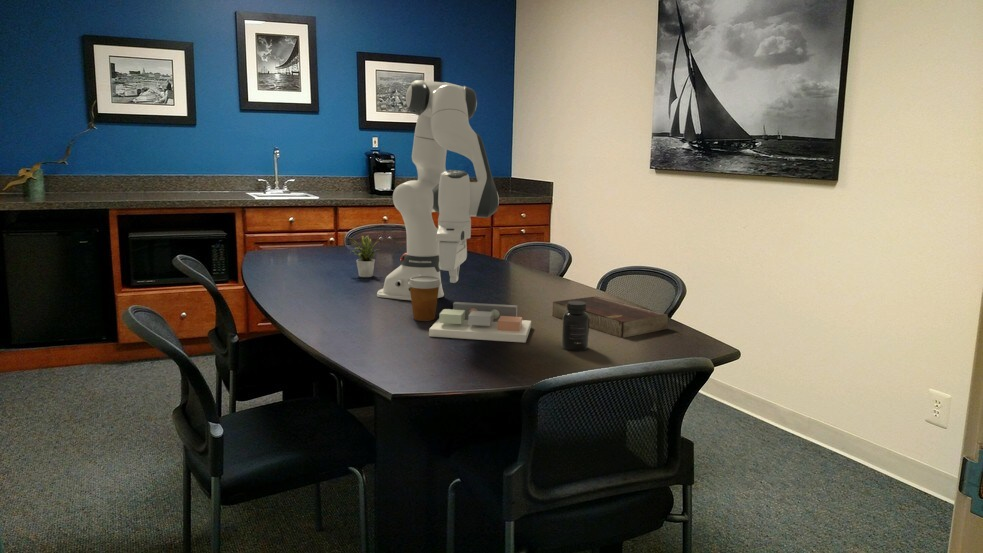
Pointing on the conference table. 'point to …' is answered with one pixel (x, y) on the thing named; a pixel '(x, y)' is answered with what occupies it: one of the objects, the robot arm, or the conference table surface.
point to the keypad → (480, 330)
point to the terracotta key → (509, 323)
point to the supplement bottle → (575, 327)
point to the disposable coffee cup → (424, 297)
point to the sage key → (452, 316)
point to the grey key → (480, 318)
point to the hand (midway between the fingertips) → (454, 281)
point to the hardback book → (616, 317)
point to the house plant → (365, 258)
